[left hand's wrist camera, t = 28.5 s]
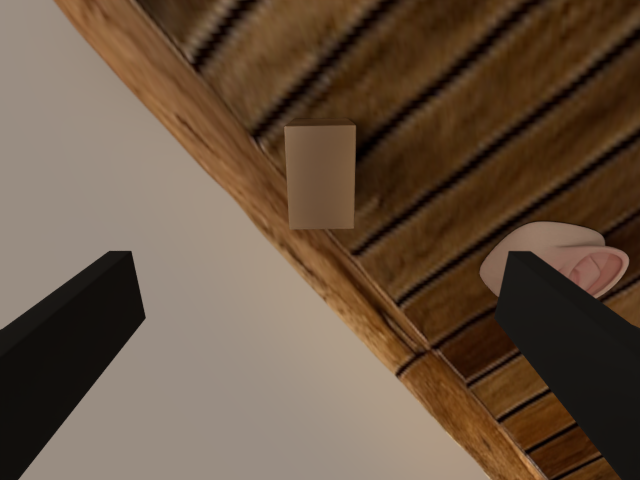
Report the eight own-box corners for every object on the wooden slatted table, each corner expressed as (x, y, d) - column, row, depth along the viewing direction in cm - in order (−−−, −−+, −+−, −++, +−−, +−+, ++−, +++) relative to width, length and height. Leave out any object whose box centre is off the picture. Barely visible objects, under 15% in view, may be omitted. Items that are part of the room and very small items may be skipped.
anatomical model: (480, 307, 40) (535, 213, 35) (466, 289, 43) (515, 202, 39) (583, 339, 41) (647, 252, 37) (561, 319, 45) (617, 238, 41)
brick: (296, 198, 39) (289, 229, 30) (293, 118, 36) (284, 126, 27) (346, 197, 39) (354, 228, 30) (347, 118, 36) (356, 125, 27)
